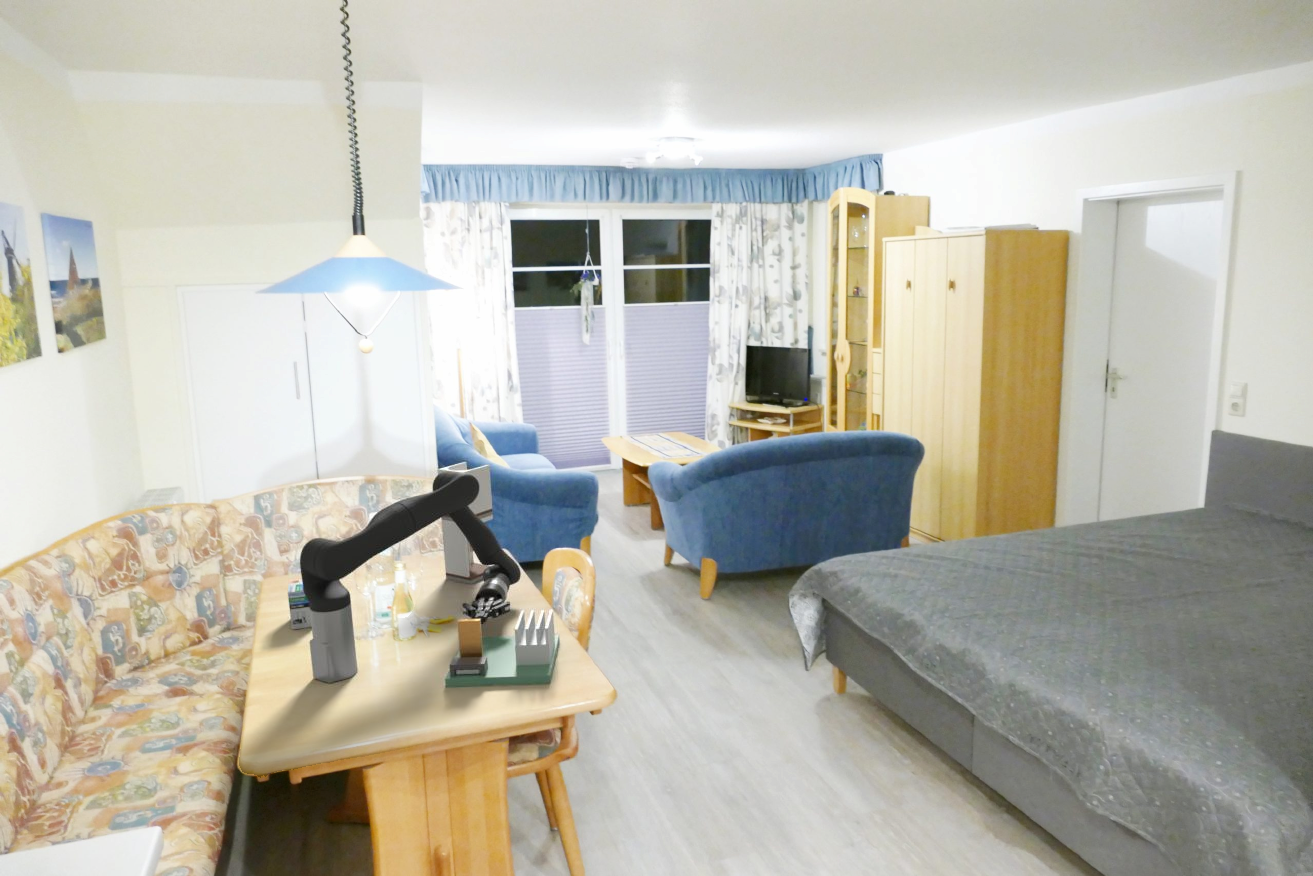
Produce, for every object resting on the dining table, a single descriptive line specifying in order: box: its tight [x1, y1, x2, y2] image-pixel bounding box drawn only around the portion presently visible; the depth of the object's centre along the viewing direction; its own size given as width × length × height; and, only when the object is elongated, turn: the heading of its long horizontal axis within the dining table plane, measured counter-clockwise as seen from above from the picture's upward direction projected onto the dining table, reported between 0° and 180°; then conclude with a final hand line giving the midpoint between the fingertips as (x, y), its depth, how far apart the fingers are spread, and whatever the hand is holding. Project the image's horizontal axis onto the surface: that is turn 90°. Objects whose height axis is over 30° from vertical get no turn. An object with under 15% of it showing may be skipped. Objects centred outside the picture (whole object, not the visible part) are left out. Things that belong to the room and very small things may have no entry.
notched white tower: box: [437, 461, 494, 585], centre depth 283 cm, size 11×11×35 cm
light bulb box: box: [287, 579, 312, 630], centre depth 251 cm, size 11×7×11 cm, turn 19°
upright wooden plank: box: [456, 618, 483, 674], centre depth 213 cm, size 6×5×11 cm
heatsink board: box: [444, 609, 561, 688], centre depth 220 cm, size 24×24×11 cm
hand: (480, 620), depth 227 cm, fingers closed
